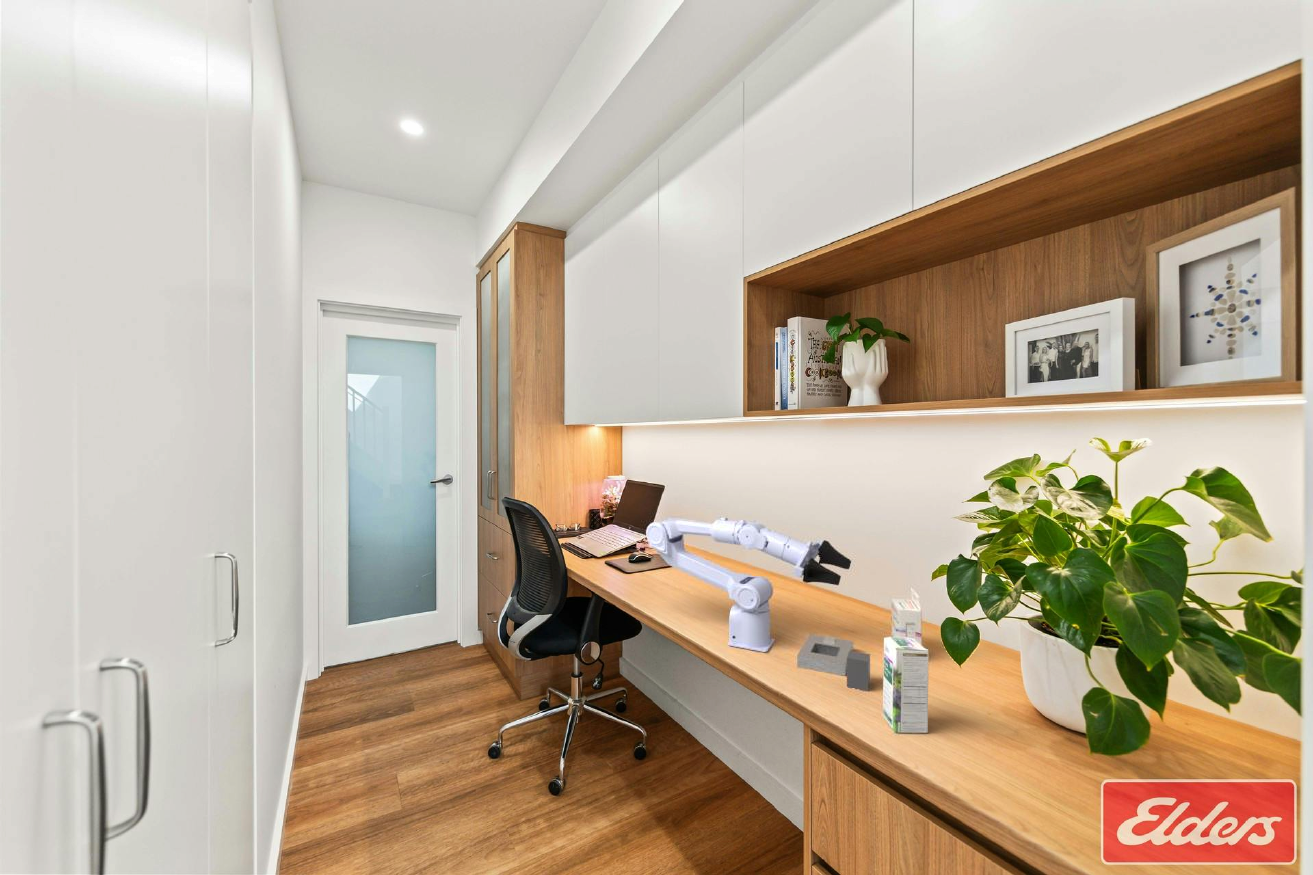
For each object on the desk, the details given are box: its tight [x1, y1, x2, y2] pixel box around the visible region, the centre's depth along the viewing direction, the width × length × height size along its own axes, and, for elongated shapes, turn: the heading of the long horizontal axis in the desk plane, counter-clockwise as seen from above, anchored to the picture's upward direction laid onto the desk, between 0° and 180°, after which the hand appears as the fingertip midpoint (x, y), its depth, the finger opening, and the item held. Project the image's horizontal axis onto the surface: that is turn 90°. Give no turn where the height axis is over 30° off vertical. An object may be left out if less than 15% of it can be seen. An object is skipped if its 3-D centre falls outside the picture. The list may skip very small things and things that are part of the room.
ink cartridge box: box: [890, 587, 923, 646], centre depth 123 cm, size 9×5×15 cm, turn 168°
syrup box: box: [882, 636, 930, 734], centre depth 93 cm, size 6×6×14 cm
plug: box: [846, 650, 871, 692], centre depth 108 cm, size 4×4×6 cm
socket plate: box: [796, 633, 854, 677], centre depth 121 cm, size 10×14×3 cm
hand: (844, 572), depth 118 cm, fingers open, 7 cm apart
